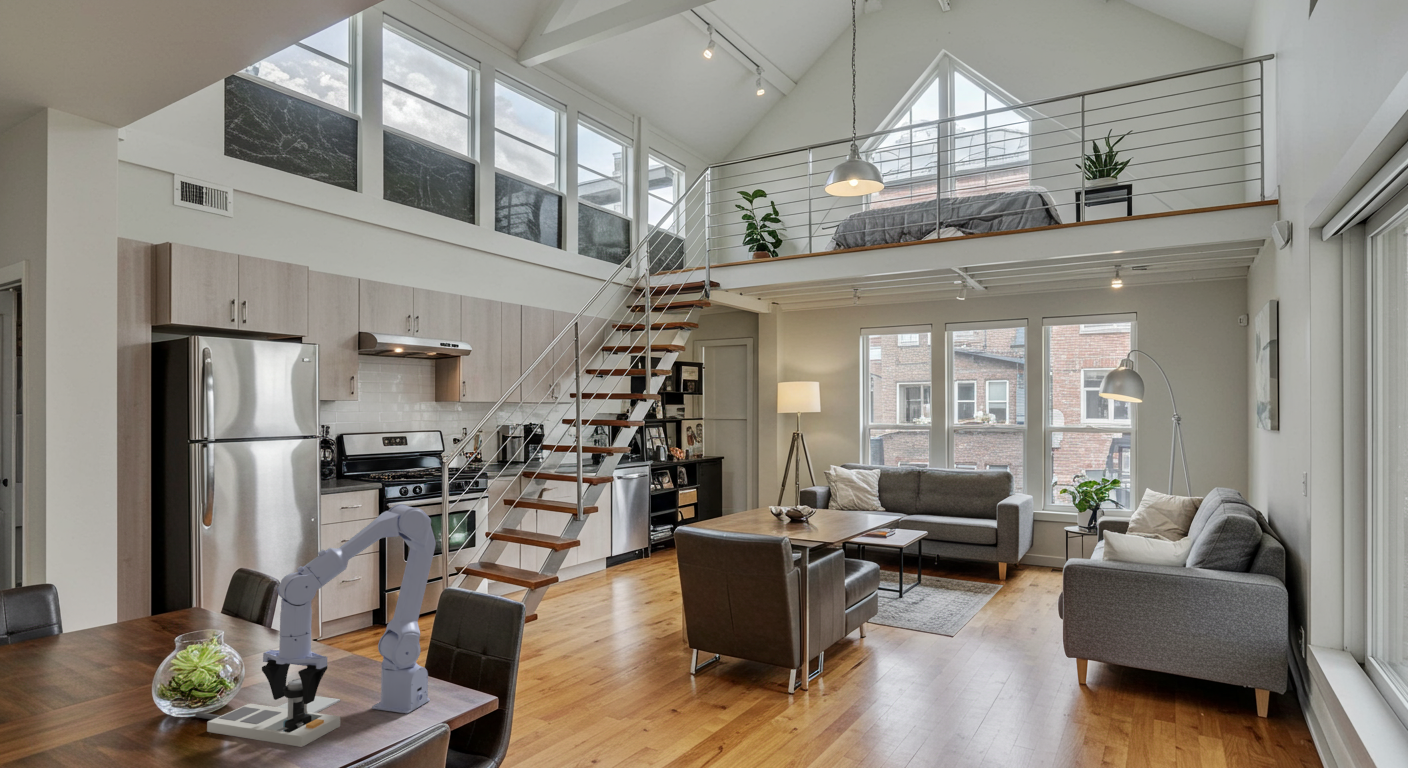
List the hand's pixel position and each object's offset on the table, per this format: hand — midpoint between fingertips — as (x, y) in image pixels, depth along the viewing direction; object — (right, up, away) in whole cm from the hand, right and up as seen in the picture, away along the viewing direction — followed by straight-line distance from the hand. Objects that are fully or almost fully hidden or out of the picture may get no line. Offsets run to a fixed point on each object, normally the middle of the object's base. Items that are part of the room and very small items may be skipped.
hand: (293, 700), depth 153 cm
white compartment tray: (-9, -7, +3) cm, 11 cm away
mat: (-4, -7, +13) cm, 15 cm away
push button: (0, -7, 0) cm, 7 cm away
